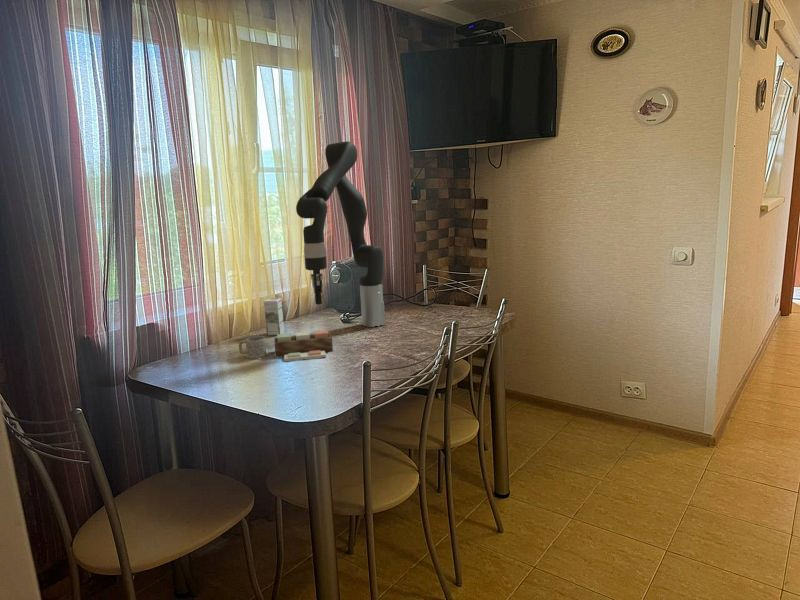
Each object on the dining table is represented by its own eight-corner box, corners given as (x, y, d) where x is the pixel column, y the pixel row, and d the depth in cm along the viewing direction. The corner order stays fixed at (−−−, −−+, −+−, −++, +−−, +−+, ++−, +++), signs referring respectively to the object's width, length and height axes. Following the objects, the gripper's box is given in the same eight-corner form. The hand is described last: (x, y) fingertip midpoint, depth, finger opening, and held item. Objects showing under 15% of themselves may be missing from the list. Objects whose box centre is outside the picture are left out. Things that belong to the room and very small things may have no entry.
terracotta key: (327, 336, 209) (327, 329, 209) (328, 339, 205) (328, 332, 204) (314, 337, 208) (313, 330, 208) (315, 340, 204) (314, 334, 203)
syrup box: (284, 332, 234) (281, 297, 232) (280, 335, 229) (277, 300, 226) (271, 332, 235) (267, 297, 232) (266, 336, 229) (263, 300, 226)
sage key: (291, 339, 207) (290, 333, 206) (291, 343, 202) (291, 336, 202) (277, 341, 206) (277, 334, 205) (277, 344, 201) (277, 337, 201)
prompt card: (324, 353, 202) (324, 348, 202) (326, 357, 197) (325, 352, 197) (284, 357, 199) (284, 353, 199) (284, 361, 195) (284, 357, 194)
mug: (269, 354, 204) (268, 336, 203) (260, 359, 198) (258, 341, 197) (245, 353, 207) (243, 335, 206) (235, 358, 201) (233, 340, 199)
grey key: (309, 338, 208) (309, 331, 207) (310, 341, 203) (309, 334, 203) (296, 339, 207) (295, 332, 206) (296, 342, 202) (296, 335, 202)
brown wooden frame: (330, 345, 212) (329, 332, 211) (332, 351, 204) (331, 337, 203) (275, 350, 208) (274, 337, 207) (275, 357, 200) (274, 343, 199)
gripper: (327, 257, 195) (331, 306, 198) (324, 252, 207) (327, 299, 211) (305, 258, 193) (309, 308, 197) (303, 254, 206) (307, 301, 209)
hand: (318, 303), depth 204 cm, fingers closed
